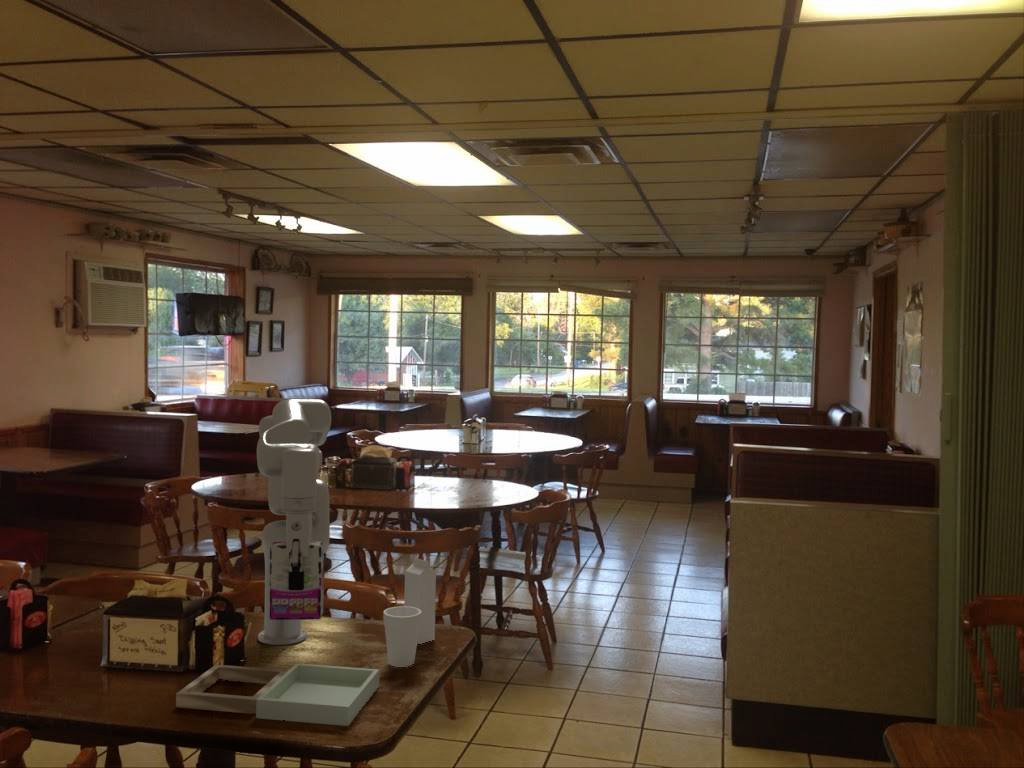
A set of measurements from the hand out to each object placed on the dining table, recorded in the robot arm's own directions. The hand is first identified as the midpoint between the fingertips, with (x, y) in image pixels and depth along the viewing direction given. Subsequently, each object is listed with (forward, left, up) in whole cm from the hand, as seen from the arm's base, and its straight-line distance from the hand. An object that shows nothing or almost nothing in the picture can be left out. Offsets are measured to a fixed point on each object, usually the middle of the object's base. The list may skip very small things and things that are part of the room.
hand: (297, 585), depth 194 cm
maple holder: (0, -14, -25) cm, 29 cm away
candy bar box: (0, 0, -7) cm, 7 cm away
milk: (-45, +17, -26) cm, 55 cm away
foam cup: (-27, +17, -26) cm, 41 cm away
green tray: (0, +6, -25) cm, 26 cm away
